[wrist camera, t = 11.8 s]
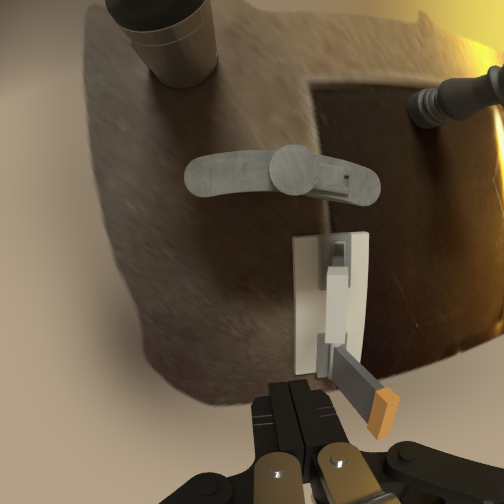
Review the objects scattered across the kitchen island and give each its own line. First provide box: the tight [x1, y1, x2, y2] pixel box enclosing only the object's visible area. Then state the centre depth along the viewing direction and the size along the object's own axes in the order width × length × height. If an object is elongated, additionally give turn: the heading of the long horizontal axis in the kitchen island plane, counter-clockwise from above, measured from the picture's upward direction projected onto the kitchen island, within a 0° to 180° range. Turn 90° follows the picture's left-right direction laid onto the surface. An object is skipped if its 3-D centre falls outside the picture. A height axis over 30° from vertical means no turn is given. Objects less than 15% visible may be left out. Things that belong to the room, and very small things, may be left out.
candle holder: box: [407, 64, 504, 129], centre depth 26 cm, size 6×6×25 cm
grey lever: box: [325, 240, 348, 344], centre depth 32 cm, size 2×6×16 cm, turn 4°
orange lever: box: [328, 343, 400, 440], centre depth 35 cm, size 2×6×16 cm, turn 3°
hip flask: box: [184, 144, 381, 206], centre depth 29 cm, size 16×4×20 cm, turn 87°
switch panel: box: [292, 232, 369, 378], centre depth 42 cm, size 11×23×3 cm, turn 3°
